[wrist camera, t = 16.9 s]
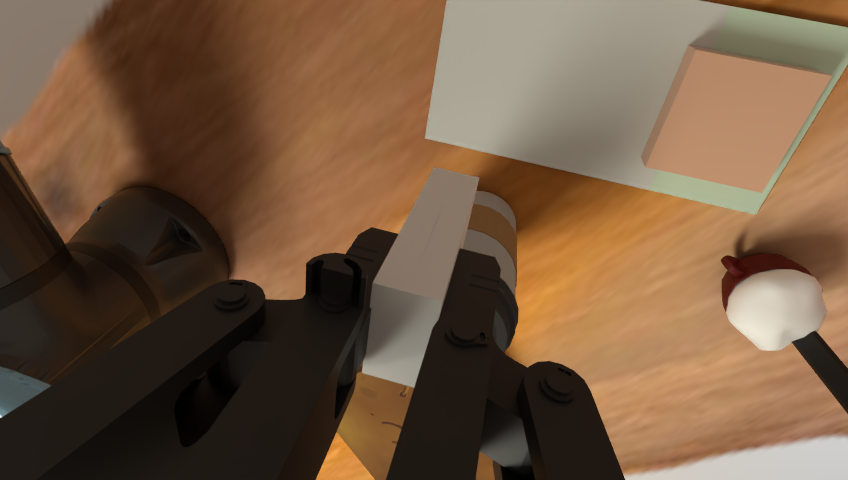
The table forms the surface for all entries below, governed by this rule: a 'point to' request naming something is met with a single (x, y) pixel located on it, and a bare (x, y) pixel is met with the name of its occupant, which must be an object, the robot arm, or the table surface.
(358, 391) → the diary
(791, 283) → the cocoa
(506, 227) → the coffee cup
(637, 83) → the mat
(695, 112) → the tile
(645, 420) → the table surface
